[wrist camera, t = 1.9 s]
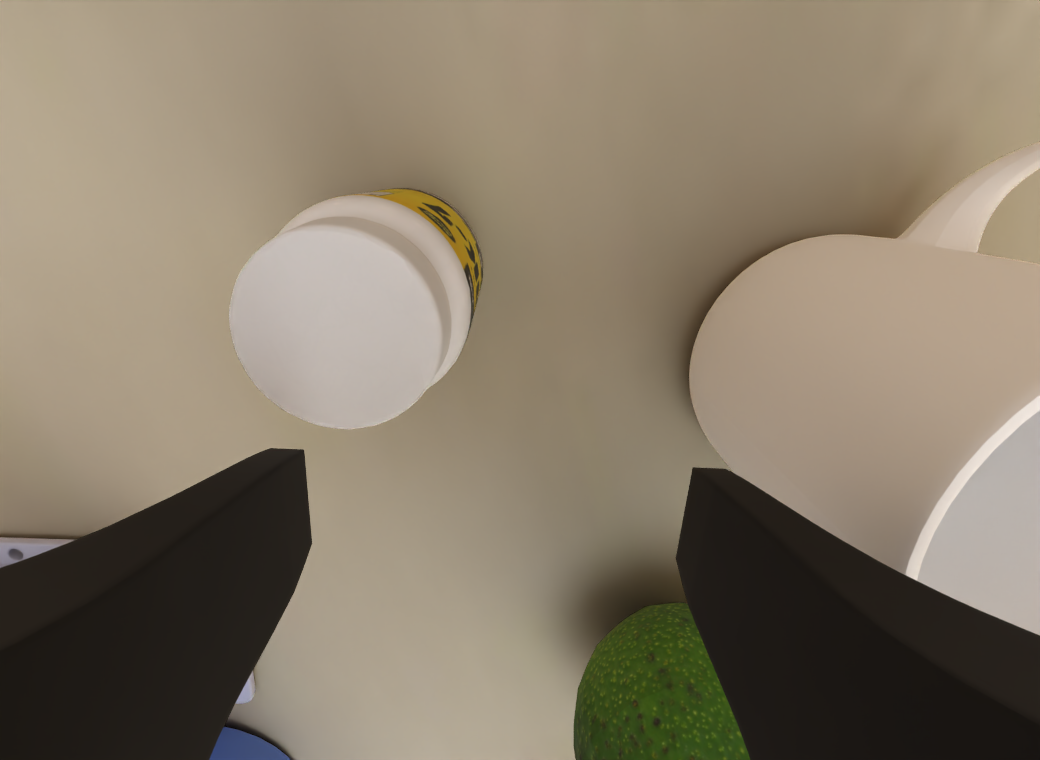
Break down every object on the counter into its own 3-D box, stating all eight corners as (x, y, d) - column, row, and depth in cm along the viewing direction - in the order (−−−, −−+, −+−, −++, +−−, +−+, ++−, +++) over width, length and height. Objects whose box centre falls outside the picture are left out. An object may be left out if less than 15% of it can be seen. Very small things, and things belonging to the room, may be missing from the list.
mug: (1046, 199, 18) (1745, 239, 8) (829, 499, 22) (1134, 784, 12) (835, 69, 16) (1401, -86, 6) (635, 418, 20) (798, 673, 10)
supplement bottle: (502, 311, 19) (497, 414, 11) (371, 352, 19) (276, 478, 12) (454, 165, 17) (407, 165, 9) (312, 213, 18) (154, 250, 10)
